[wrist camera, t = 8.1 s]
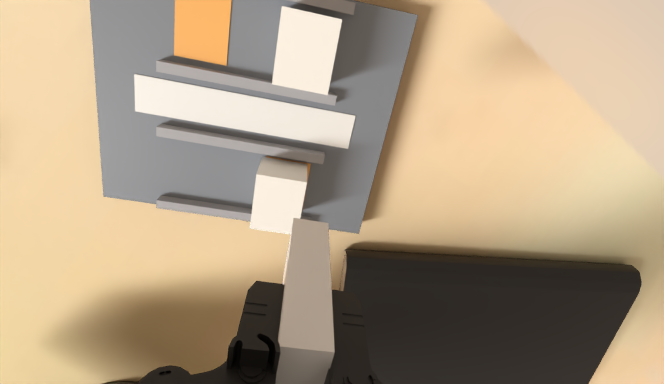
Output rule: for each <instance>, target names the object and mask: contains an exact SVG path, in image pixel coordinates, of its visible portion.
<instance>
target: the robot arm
mask: <svg viewBox="0 0 664 384" xmlns="http://www.w3.org/2000/svg"><path fill="white" fill-rule="evenodd" d="M108 384H383V383H382V382H380V381H379V379H378V378H377V375H376V374H375V373H374V372H373V370H372V368H371V365H370V359H369V352H368V346H367V339H366V332H365V328H364V318H363V312H362V305H361V302H360V301H359V299H358V298H357V296H356V295H355V293H352V292H345V291H337V290H332V287H331V266H330V246H329V225H328V223H325V222H318V221H312V220H305V219H298V218H293V224H292V229H291V235H290V241H289V246H288V252H287V258H286V263H285V269H284V277H283V284H277V283H269V282H261V281H256V282H255V283H254V284H253V285H252V286H251V288H250V289H249V290H248V293H247V297H246V301H245V305H244V308H243V313H242V316H241V320H240V324H239V328H238V332H237V336H236V337H234V338H233V339H232V341H231V343H230V345H229V348H228V358H227V361H226V362H225V363H224V364H223V365H221V366H220V367H218V368H216V369H214V370H211V371H208V372H204V373H199V374H194V375H190V374H189V372H188V371H186V370H184V369H183V368H181V367H177V366H165V367H160V368H157V369H155V370H153V371H151V372H149V373H148V374H147V375H146V376H145V377H144V378H142V379H141V380H140V381H139V383H134V382H115V383H108Z"/></svg>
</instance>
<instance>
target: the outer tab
mask: <svg viewBox="0 0 664 384" xmlns="http://www.w3.org/2000/svg"><path fill="white" fill-rule="evenodd" d="M341 23H342V19H338V18H334V17H329V16H325V15H320V14H316V13H311V12H307V11H302V10H298V9H293V8H289V7H284V6H282V8H281V16H280V24H279V32H278V40H277V47H276V55H275V63H274V71H273V79H272V84H273V85H278V86H283V87H288V88H293V89H299V90H304V91H309V92H314V93H319V94H324V95H328V91H329V86H330V81H331V75H332V70H333V65H334V60H335V55H336V49H337V44H338V39H339V34H340V29H341Z"/></svg>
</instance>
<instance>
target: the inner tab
mask: <svg viewBox="0 0 664 384" xmlns="http://www.w3.org/2000/svg"><path fill="white" fill-rule="evenodd" d="M306 185H307V164H303V163H297V162H291V161H285V160H279V159H273V158H267V157H262V159H261V162H260V165H259V168H258V171H257V174H256V181H255V189H254V197H253V205H252V214H251V222H250V229H256V230H263V231H270V232H277V233H284V234H291V229H292V224H293V218H298V219H300V217H301V212H302V206H303V201H304V196H305V190H306Z"/></svg>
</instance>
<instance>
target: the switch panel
mask: <svg viewBox="0 0 664 384" xmlns="http://www.w3.org/2000/svg"><path fill="white" fill-rule="evenodd" d="M282 6H284V7H289V8H293V9H298V10H302V11H307V12H311V13H316V14H320V15H325V16H329V17H334V18H338V19H342V23H341V29H340V34H339V39H338V44H337V49H336V55H335V60H334V65H333V70H332V75H331V81H330V86H329V91H328V95H324V94H319V93H314V92H309V91H304V90H299V89H293V88H288V87H283V86H278V85H273V84H272V79H273V71H274V63H275V55H276V47H277V40H278V32H279V24H280V16H281V8H282ZM90 11H91V26H92V40H93V54H94V68H95V82H96V97H97V111H98V125H99V139H100V154H101V168H102V182H103V196H104V197H111V198H117V199H124V200H131V201H138V202H145V203H152V204H157V208H160V209H167V210H174V211H181V212H188V213H195V214H202V215H209V216H216V217H223V218H230V219H236V220H243V221H250V222H251V214H252V205H253V197H254V189H255V181H256V174H257V171H258V168H259V165H260V162H261V159H262V157H267V158H273V159H279V160H285V161H291V162H297V163H303V164H307V185H306V190H305V196H304V201H303V206H302V212H301V217H300V219H305V220H312V221H318V222H325V223H328V225H329V229H330V230H337V231H344V232H351V233H358V234H359V231H360V227H361V224H362V220H363V216H364V213H365V209H366V205H367V202H368V198H369V194H370V190H371V187H372V183H373V179H374V176H375V172H376V168H377V165H378V161H379V157H380V153H381V150H382V146H383V142H384V139H385V135H386V131H387V128H388V124H389V120H390V117H391V113H392V109H393V105H394V102H395V98H396V94H397V91H398V87H399V83H400V80H401V76H402V72H403V68H404V65H405V61H406V57H407V54H408V50H409V46H410V43H411V39H412V35H413V31H414V28H415V24H416V20H417V17H418V15H415V14H411V13H406V12H402V11H398V10H393V9H389V8H385V7H380V6H376V5H372V4H368V3H363V2H359V1H355V0H90Z"/></svg>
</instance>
